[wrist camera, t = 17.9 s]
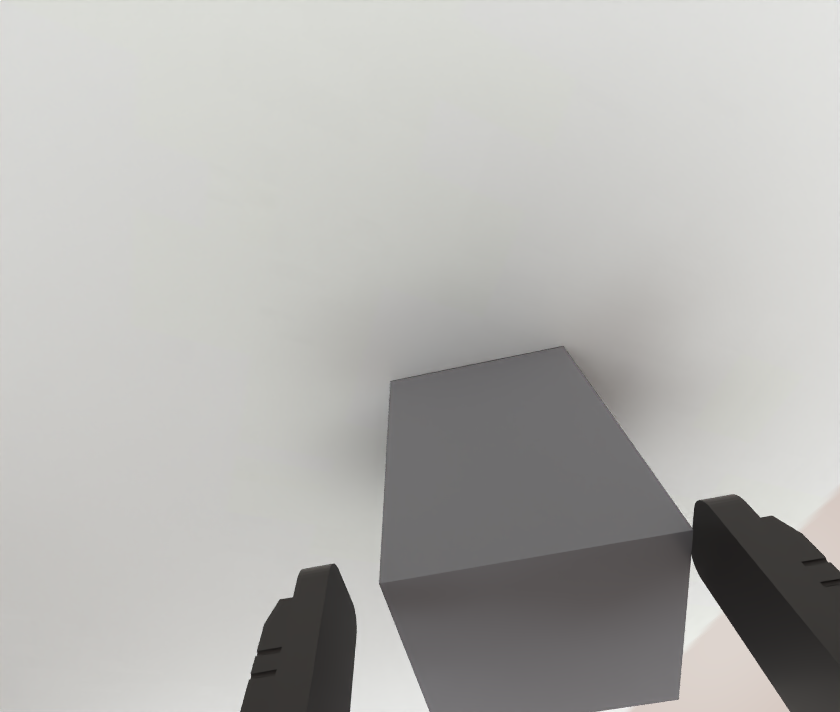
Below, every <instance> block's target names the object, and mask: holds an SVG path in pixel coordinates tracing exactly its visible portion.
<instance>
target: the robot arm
mask: <svg viewBox="0 0 840 712" xmlns="http://www.w3.org/2000/svg"><path fill="white" fill-rule="evenodd" d="M692 529H693V540H692V551H691V555H692V559H693V562H694V565H695V567H696V570H697V572H698V574H699V576H700V577H701V579H702V581H703V582H704V584H705V585H706V587H707V588H708V590H709V591H710V593H711V594H712V596H713V597H714V598H715V600H716V601H717V603H718V604H719V606H720V607H721V609H722V610H723V612H724V613H725V615H726V616H727V618H728V619H729V621H730V622H731V624H732V625H733V627H734V628H735V630H736V631H737V633H738V634H739V636H740V637H741V639H742V640H743V642H744V643H745V645H746V646H747V648H748V649H749V651H750V652H751V654H752V655H753V657H754V658H755V660H756V661H757V663H758V664H759V666H760V667H761V669H762V670H763V672H764V673H765V675H766V676H767V677H768V679H769V681H770V682H771V684H772V685H773V686H774V688H775V690H776V691H777V693H778V694H779V695H780V697H781V699H782V700H783V702H784V703H785V705H786V706H787V707H788V709H789V711H790V712H840V571H839V570H838V569H837V568H836V567H835V566H834V565H833V564H832V563H828V562H827V560H826V558H825V556H824V555H823V554H822V553H821V552H820V551H819V550H818V549H817V548H816V547H815V546H814V545H813V544H812V543H811V542H810V541H809V540H808V539H807V538H806V537H805V536H804V535H803V534H802V533H800V532H798V531H797V530H795V529H793V528H792V527H790V526H788V525H787V524H785V523H783V522H782V521H780V520H779V519H777V518H775V517H774V516H767V517H762V518H760V517H759V516H758V515H757V514H756V513H755V511H754V510H753V509H752V508H751V507H750V506H749V505H748V504H747V503H746V502H745V501H744V500H743V499H742V498H741V497H739V496H737V495H734V494H733V495H727V496H721V497H715V498H710V499H704V500H699V501H697V502H696V503H695V507H694V517H693V528H692ZM356 633H357V625H356V614H355V609H354V605H353V603H352V600H351V598H350V595H349V593H348V591H347V588H346V586H345V584H344V581H343V579H342V576H341V574H340V572H339V569H338V567H337V566H336V565H335V564H329V565H323V566H317V567H312V568H306V569H302V570H301V571H300V573H299V575H298V578H297V582H296V587H295V591H294V596H293V597H292V598H286V599H280V600H279V601H278V603H277V605H276V606H275V608H274V609H273V611H272V613H271V614H270V616H269V617H268V619H267V621H266V622H265V624H264V627H263V631H262V634H261V638H260V642H259V645H258V649H257V656H255V660H254V664H253V667H252V671H251V679H250V680H249V682H248V685H247V689H246V693H245V696H244V700H243V704H242V707H241V711H240V712H350V704H351V692H352V681H353V669H354V658H355V646H356Z"/></svg>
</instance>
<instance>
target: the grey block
mask: <svg viewBox="0 0 840 712" xmlns="http://www.w3.org/2000/svg"><path fill="white" fill-rule="evenodd" d="M692 540H693V529H692V527H691V526H690V524H689V523H688V522H687V520H686V519H685V517H684V516H683V514H682V513H681V512H680V510H679V509H678V507H677V506H676V505H675V503H674V502H673V500H672V499H671V498H670V496H669V495H668V493H667V492H666V490H665V489H664V488H663V486H662V485H661V483H660V482H659V481H658V479H657V478H656V476H655V475H654V474H653V472H652V471H651V469H650V468H649V466H648V465H647V464H646V462H645V461H644V459H643V458H642V457H641V455H640V454H639V452H638V451H637V450H636V448H635V447H634V445H633V444H632V442H631V441H630V440H629V438H628V437H627V435H626V434H625V433H624V431H623V430H622V428H621V427H620V426H619V424H618V423H617V421H616V420H615V418H614V417H613V416H612V414H611V413H610V411H609V410H608V409H607V407H606V406H605V404H604V403H603V402H602V400H601V399H600V397H599V396H598V394H597V393H596V392H595V390H594V389H593V387H592V386H591V385H590V383H589V382H588V380H587V379H586V378H585V376H584V375H583V373H582V372H581V370H580V369H579V368H578V366H577V365H576V363H575V362H574V361H573V359H572V358H571V356H570V355H569V353H568V352H567V351H566V349H565V348H564V346H563V347H558V348H553V349H548V350H543V351H538V352H533V353H528V354H523V355H518V356H513V357H508V358H504V359H499V360H494V361H489V362H484V363H479V364H474V365H469V366H464V367H459V368H454V369H449V370H445V371H440V372H435V373H430V374H425V375H420V376H415V377H410V378H405V379H400V380H395V381H390V399H389V417H388V435H387V453H386V471H385V488H384V506H383V524H382V542H381V560H380V578H379V584H380V587H381V589H382V592H383V595H384V597H385V600H386V602H387V605H388V607H389V610H390V612H391V615H392V617H393V620H394V622H395V625H396V627H397V630H398V633H399V635H400V638H401V640H402V643H403V645H404V648H405V650H406V653H407V655H408V658H409V660H410V663H411V665H412V668H413V670H414V673H415V676H416V678H417V681H418V683H419V686H420V688H421V691H422V693H423V696H424V698H425V701H426V703H427V706H428V708H429V711H430V712H596V711H603V710H610V709H617V708H624V707H631V706H638V705H645V704H652V703H658V702H665V701H672V700H678V699H679V689H680V678H681V666H682V655H683V643H684V632H685V620H686V609H687V597H688V586H689V574H690V563H691V551H692Z"/></svg>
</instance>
